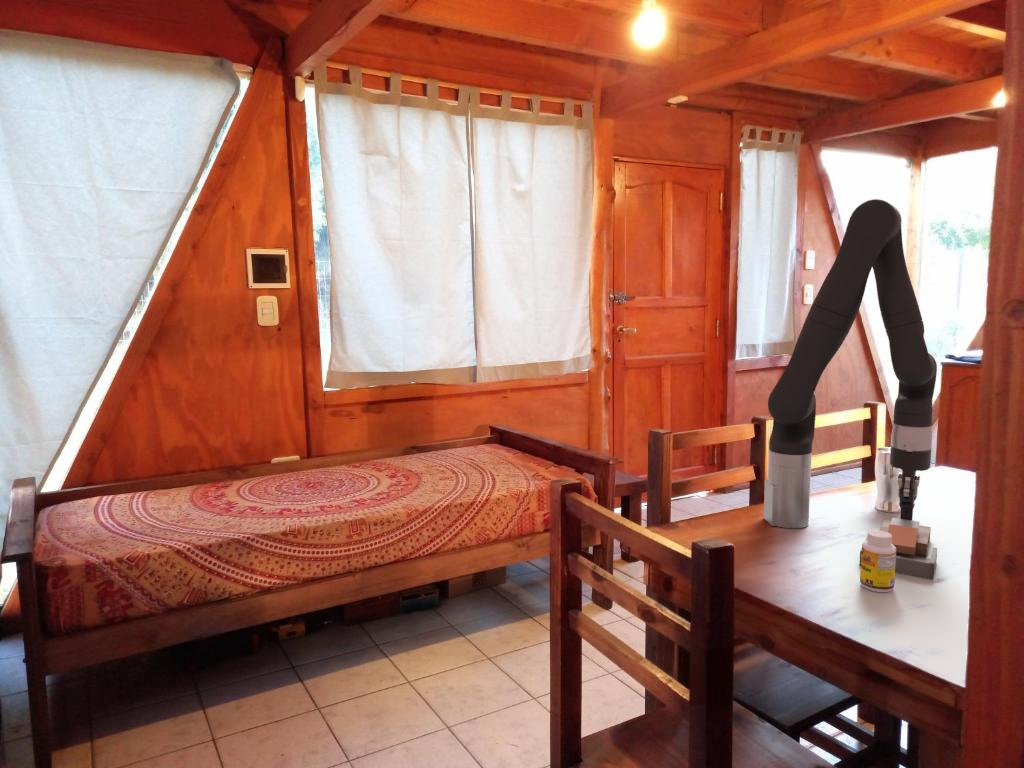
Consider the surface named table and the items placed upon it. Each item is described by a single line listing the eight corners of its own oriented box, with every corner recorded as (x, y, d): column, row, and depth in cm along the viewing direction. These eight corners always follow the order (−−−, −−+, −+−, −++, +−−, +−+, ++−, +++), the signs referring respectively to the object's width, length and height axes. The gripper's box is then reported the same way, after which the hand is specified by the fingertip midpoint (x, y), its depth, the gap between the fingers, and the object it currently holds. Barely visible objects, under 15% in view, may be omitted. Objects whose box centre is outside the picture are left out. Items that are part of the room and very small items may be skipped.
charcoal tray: (866, 550, 146) (866, 536, 146) (936, 562, 139) (937, 547, 139) (859, 565, 138) (860, 551, 138) (933, 579, 131) (934, 564, 131)
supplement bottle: (855, 580, 132) (858, 528, 130) (886, 581, 131) (889, 528, 130) (866, 593, 126) (869, 538, 125) (898, 594, 125) (902, 539, 124)
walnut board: (883, 532, 156) (883, 520, 156) (929, 540, 152) (930, 527, 151) (876, 549, 147) (877, 536, 146) (926, 558, 142) (927, 544, 141)
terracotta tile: (889, 531, 146) (889, 524, 145) (916, 536, 143) (917, 528, 142) (886, 550, 143) (886, 543, 142) (914, 555, 140) (915, 547, 139)
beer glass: (910, 513, 169) (913, 453, 167) (880, 513, 170) (883, 453, 168) (896, 505, 176) (899, 446, 174) (867, 505, 177) (871, 446, 175)
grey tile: (891, 528, 150) (892, 517, 150) (918, 533, 148) (919, 521, 147) (889, 535, 146) (890, 524, 146) (917, 540, 143) (917, 528, 143)
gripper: (893, 437, 155) (888, 513, 158) (887, 449, 144) (883, 530, 147) (932, 441, 151) (927, 518, 154) (930, 453, 140) (924, 536, 143)
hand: (905, 524), depth 150 cm, fingers closed
